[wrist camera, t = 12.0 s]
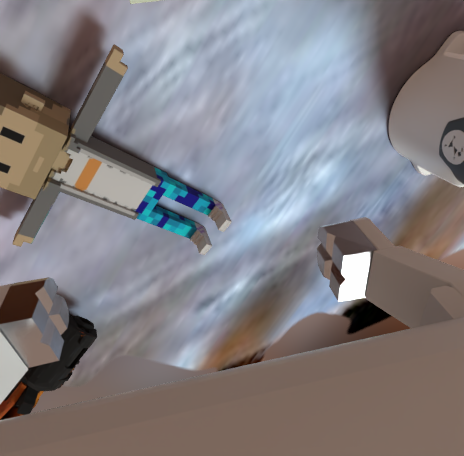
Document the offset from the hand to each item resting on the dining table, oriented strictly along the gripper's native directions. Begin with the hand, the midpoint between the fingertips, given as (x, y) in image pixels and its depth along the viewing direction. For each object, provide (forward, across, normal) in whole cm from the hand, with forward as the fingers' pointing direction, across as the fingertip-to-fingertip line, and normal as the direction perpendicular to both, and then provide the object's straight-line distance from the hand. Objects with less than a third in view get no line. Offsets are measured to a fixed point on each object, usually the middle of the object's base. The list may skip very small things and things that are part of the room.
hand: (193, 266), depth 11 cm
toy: (+35, +9, +11) cm, 37 cm away
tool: (+34, +28, +39) cm, 59 cm away
